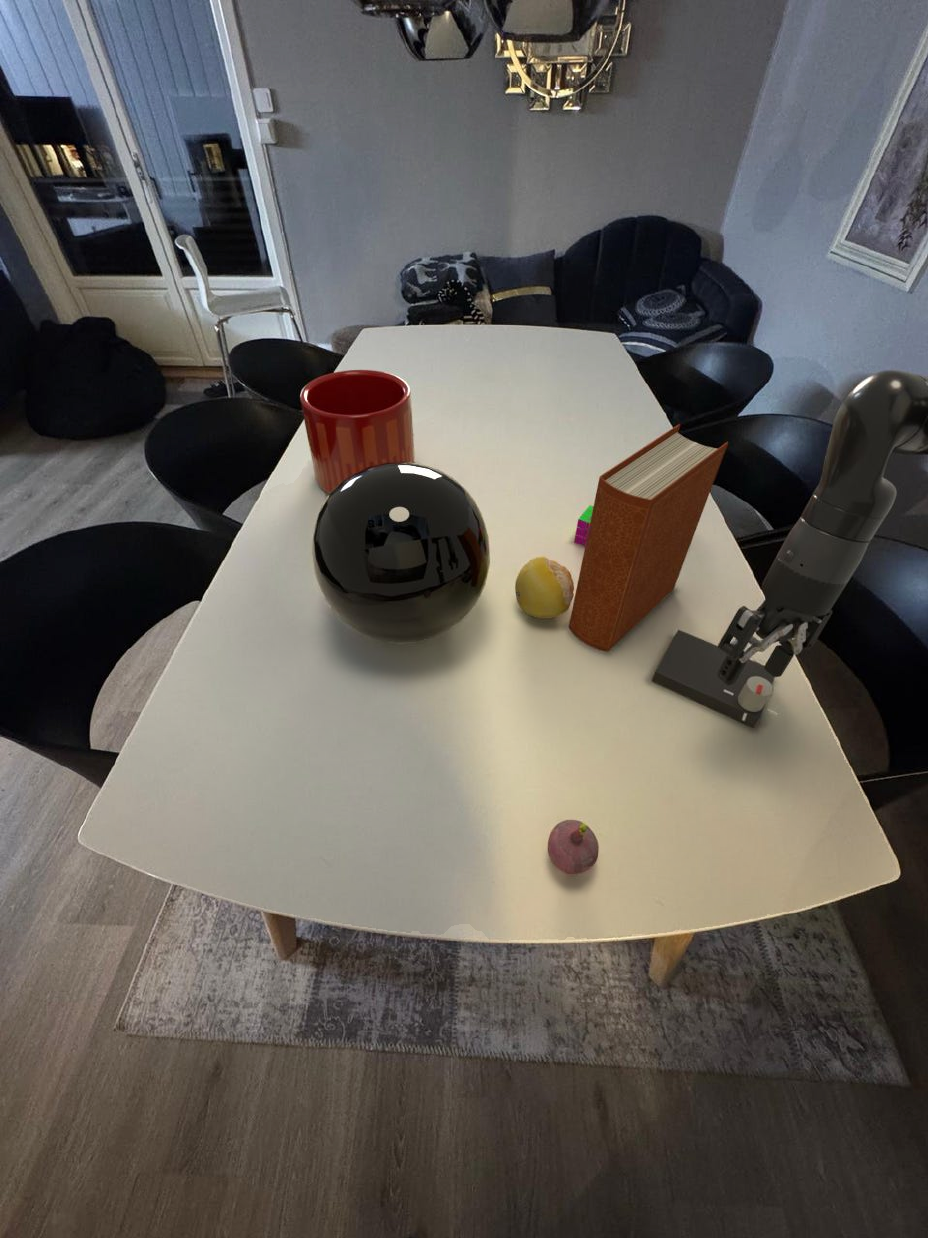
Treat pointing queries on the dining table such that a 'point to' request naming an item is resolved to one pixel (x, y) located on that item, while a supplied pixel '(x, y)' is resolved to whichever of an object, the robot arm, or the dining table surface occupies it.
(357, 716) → the dining table surface
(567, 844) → the vegetable
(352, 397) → the planter
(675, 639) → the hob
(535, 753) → the dining table surface
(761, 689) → the burner knob
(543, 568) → the fruit
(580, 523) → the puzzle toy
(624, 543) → the book
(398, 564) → the ball
